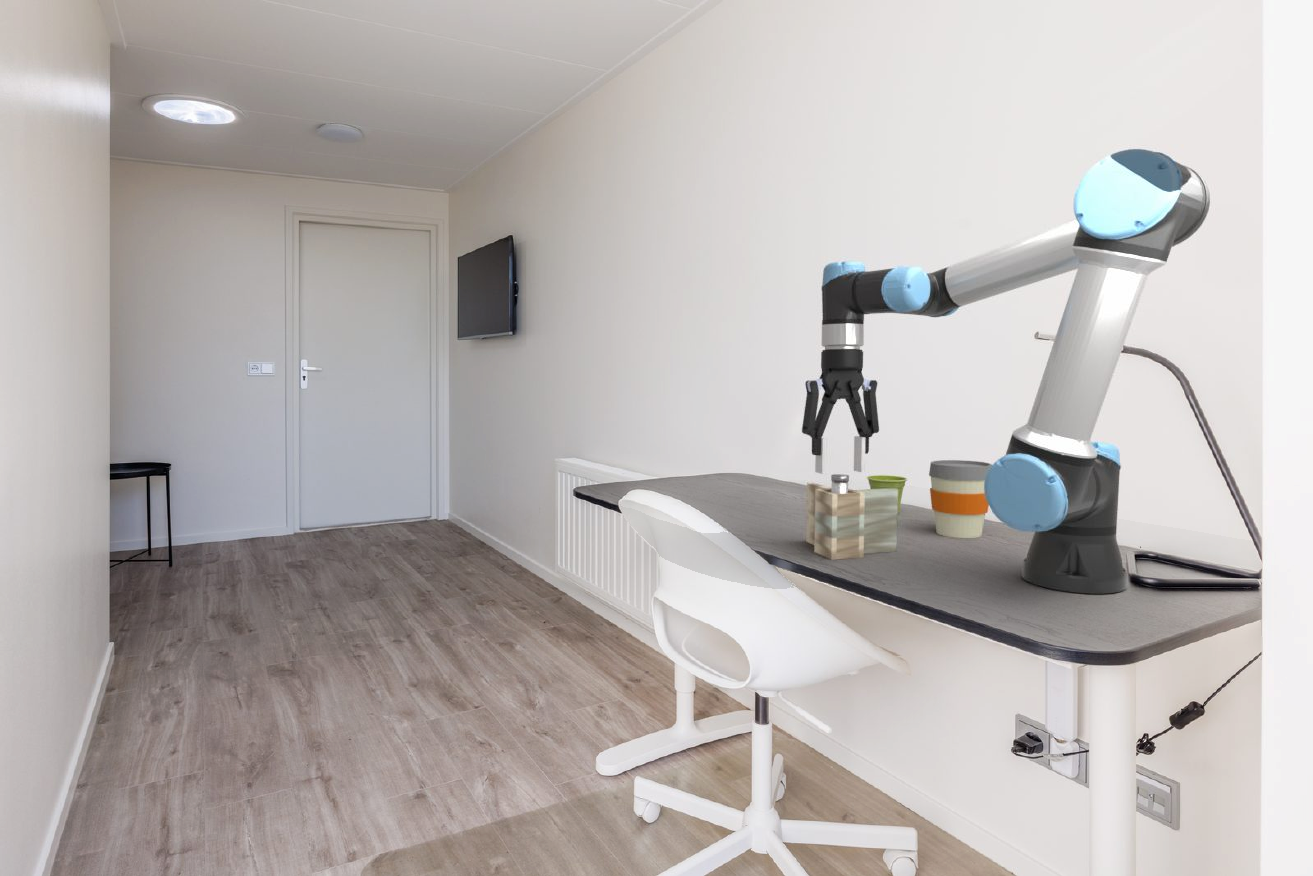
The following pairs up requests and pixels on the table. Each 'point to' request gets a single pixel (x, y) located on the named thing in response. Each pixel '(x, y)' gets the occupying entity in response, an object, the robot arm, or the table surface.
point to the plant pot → (888, 484)
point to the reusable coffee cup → (959, 497)
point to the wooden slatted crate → (851, 521)
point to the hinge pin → (839, 483)
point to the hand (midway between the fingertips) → (840, 472)
